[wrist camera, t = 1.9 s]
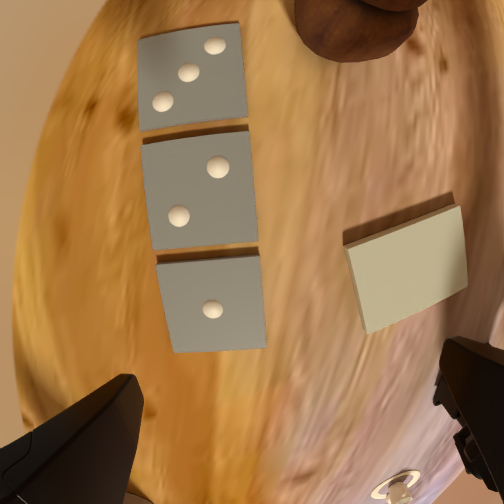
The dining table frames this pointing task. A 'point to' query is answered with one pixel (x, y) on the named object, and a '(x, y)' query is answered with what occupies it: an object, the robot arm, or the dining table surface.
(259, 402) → the dining table surface
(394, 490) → the teacup and saucer
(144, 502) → the thermos bottle
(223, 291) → the pad
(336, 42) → the wooden figurine
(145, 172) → the pad
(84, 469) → the robot arm
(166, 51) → the pad
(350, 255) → the folded napkin
